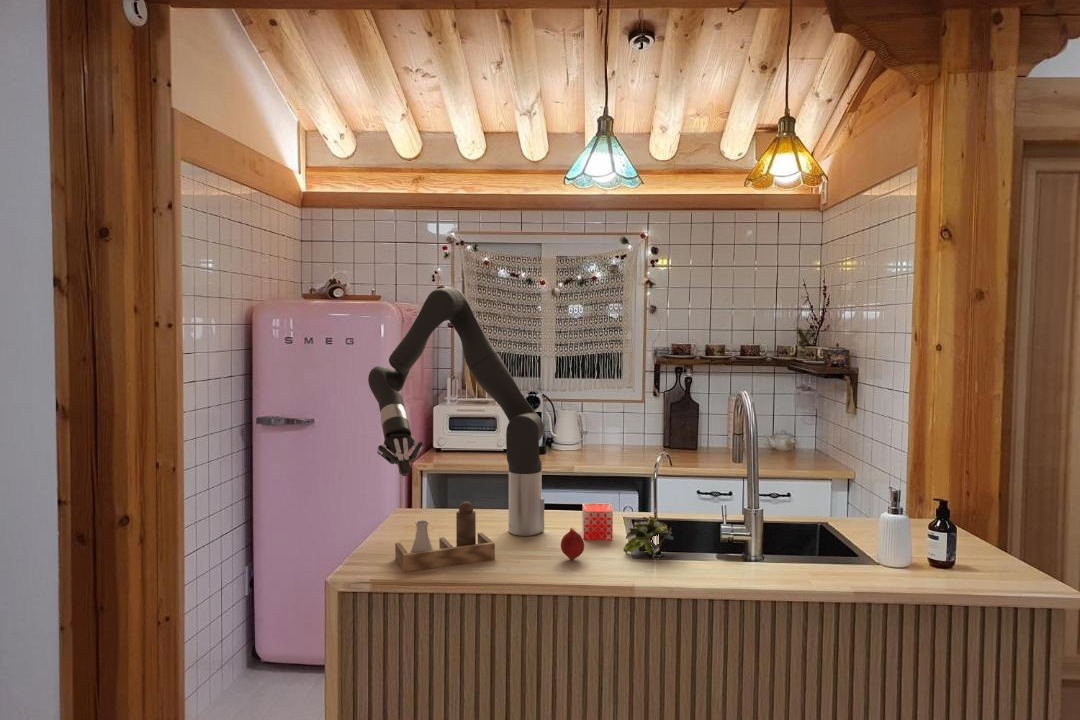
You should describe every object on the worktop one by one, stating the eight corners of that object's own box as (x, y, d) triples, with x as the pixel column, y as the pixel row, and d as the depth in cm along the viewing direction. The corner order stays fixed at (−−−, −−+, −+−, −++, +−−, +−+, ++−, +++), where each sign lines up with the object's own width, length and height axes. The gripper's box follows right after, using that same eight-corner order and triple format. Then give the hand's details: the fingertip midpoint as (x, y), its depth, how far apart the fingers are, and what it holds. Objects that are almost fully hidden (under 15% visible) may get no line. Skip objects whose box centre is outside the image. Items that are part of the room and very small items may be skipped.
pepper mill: (472, 551, 179) (472, 498, 178) (478, 557, 174) (478, 502, 173) (454, 553, 177) (453, 500, 176) (459, 559, 172) (459, 504, 172)
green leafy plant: (649, 569, 181) (674, 530, 183) (659, 577, 170) (685, 535, 172) (614, 544, 181) (639, 506, 183) (621, 550, 171) (647, 509, 172)
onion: (587, 557, 174) (587, 526, 174) (578, 565, 169) (579, 532, 168) (566, 554, 177) (566, 523, 176) (557, 561, 171) (557, 529, 171)
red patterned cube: (612, 540, 188) (612, 511, 188) (583, 540, 189) (583, 511, 188) (610, 531, 196) (610, 503, 196) (582, 531, 197) (582, 503, 196)
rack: (482, 547, 182) (482, 532, 181) (494, 559, 173) (494, 543, 173) (395, 559, 173) (395, 543, 172) (404, 572, 164) (404, 555, 164)
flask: (438, 557, 174) (438, 517, 174) (435, 567, 167) (434, 526, 167) (409, 557, 174) (409, 517, 174) (404, 567, 167) (404, 526, 166)
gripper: (373, 416, 194) (382, 468, 183) (420, 414, 199) (431, 464, 189) (370, 433, 199) (379, 484, 188) (416, 429, 204) (427, 479, 194)
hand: (405, 474), depth 189 cm, fingers closed
